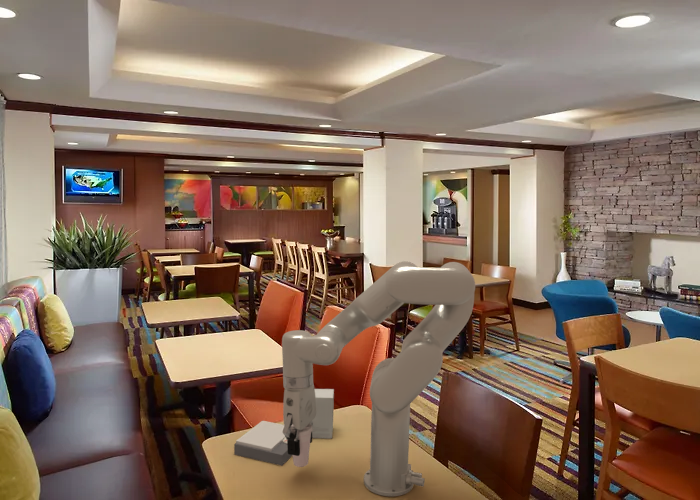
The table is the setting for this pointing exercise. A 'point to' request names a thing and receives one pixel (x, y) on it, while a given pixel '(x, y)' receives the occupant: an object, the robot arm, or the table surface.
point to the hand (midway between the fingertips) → (300, 447)
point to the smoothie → (303, 446)
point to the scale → (264, 444)
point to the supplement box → (323, 414)
